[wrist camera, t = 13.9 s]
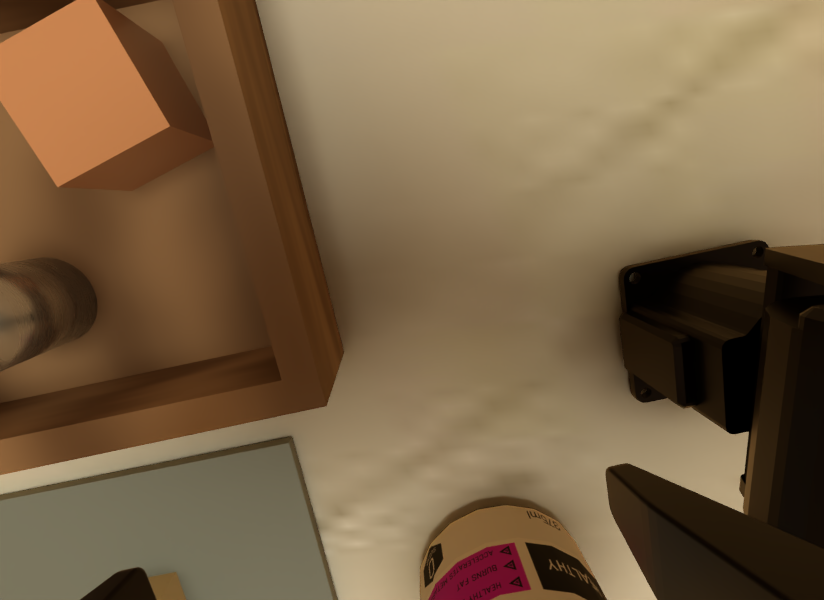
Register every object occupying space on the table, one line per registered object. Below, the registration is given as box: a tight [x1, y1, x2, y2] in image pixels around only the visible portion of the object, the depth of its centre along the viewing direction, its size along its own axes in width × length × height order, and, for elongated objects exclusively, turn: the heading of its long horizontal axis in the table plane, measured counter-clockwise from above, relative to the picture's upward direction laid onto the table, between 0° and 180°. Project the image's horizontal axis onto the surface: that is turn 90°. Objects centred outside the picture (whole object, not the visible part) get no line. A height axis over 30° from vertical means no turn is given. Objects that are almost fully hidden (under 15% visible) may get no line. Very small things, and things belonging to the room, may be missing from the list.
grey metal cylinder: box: [0, 257, 98, 371], centre depth 16 cm, size 4×4×4 cm
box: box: [0, 0, 344, 475], centre depth 16 cm, size 16×16×6 cm
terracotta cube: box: [0, 0, 214, 191], centre depth 15 cm, size 4×4×4 cm
